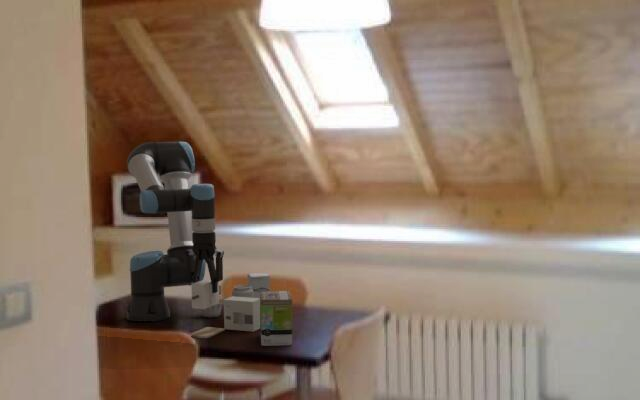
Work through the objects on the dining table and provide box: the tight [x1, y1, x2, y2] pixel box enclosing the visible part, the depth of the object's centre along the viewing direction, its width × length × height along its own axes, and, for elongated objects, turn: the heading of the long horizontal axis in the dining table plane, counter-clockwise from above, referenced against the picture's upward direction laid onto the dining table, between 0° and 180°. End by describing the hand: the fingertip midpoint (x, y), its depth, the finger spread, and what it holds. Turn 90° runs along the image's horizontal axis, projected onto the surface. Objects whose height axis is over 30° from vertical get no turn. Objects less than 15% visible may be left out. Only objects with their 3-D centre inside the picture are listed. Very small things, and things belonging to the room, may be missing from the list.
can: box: [231, 284, 254, 298], centre depth 320 cm, size 8×8×12 cm
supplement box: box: [246, 272, 271, 298], centre depth 339 cm, size 7×7×13 cm
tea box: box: [259, 290, 293, 347], centre depth 290 cm, size 15×10×15 cm, turn 5°
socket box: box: [223, 295, 260, 333], centre depth 307 cm, size 11×6×10 cm, turn 67°
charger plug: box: [190, 278, 222, 310], centre depth 299 cm, size 4×16×8 cm, turn 157°
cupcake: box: [200, 295, 224, 319], centre depth 327 cm, size 9×9×10 cm
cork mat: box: [189, 326, 226, 339], centre depth 301 cm, size 7×12×1 cm, turn 157°
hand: (205, 301), depth 300 cm, fingers closed on charger plug, 4 cm apart
